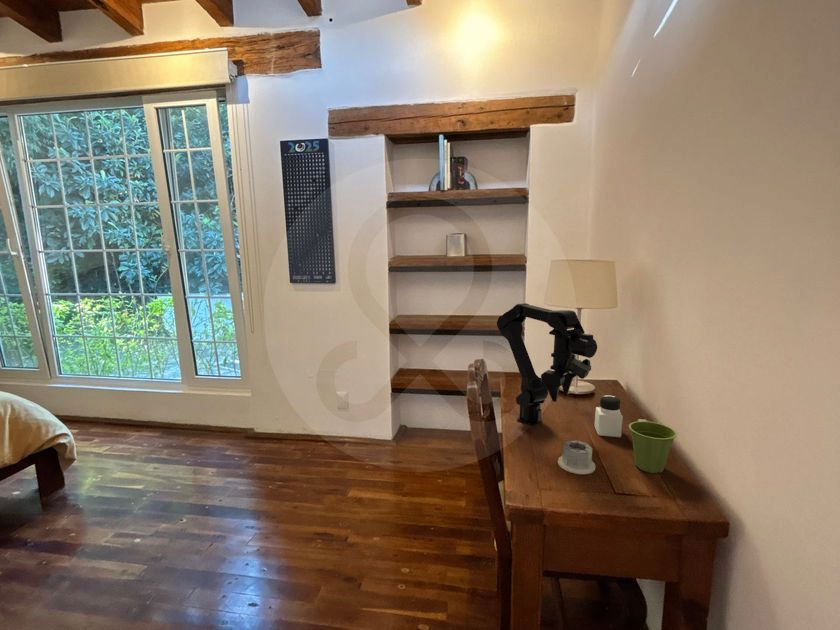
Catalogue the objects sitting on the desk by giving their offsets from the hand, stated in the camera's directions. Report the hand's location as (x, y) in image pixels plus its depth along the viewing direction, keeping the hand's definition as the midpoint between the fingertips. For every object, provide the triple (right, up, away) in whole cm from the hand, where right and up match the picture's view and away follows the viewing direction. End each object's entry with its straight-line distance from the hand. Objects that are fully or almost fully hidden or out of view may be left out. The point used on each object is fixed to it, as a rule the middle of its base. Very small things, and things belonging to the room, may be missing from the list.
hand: (560, 397), depth 143 cm
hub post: (-1, -16, -17) cm, 24 cm away
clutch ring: (-1, -15, -17) cm, 23 cm away
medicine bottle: (+17, -12, +4) cm, 21 cm away
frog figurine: (+26, -13, -2) cm, 29 cm away
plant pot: (+19, -16, -18) cm, 31 cm away
